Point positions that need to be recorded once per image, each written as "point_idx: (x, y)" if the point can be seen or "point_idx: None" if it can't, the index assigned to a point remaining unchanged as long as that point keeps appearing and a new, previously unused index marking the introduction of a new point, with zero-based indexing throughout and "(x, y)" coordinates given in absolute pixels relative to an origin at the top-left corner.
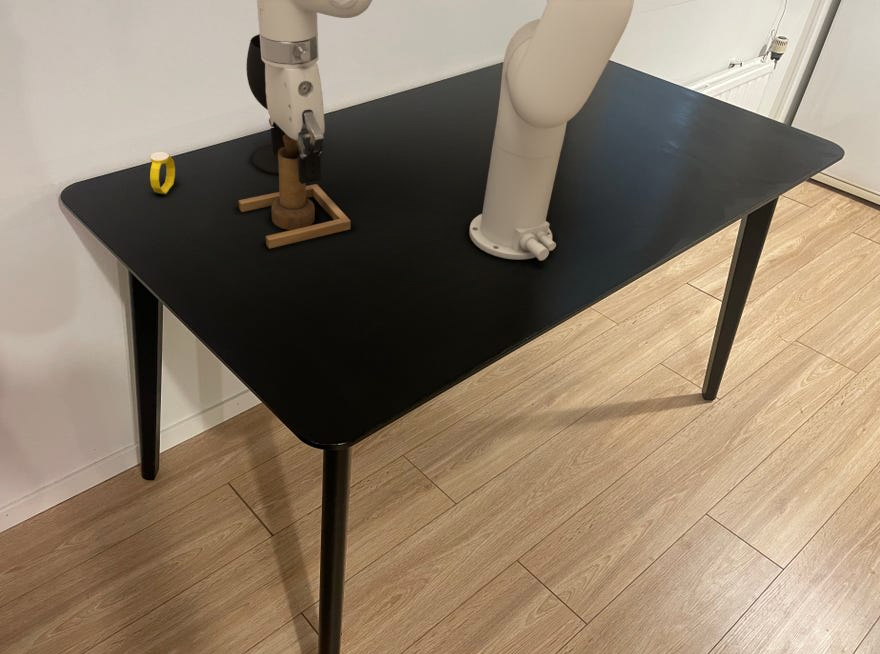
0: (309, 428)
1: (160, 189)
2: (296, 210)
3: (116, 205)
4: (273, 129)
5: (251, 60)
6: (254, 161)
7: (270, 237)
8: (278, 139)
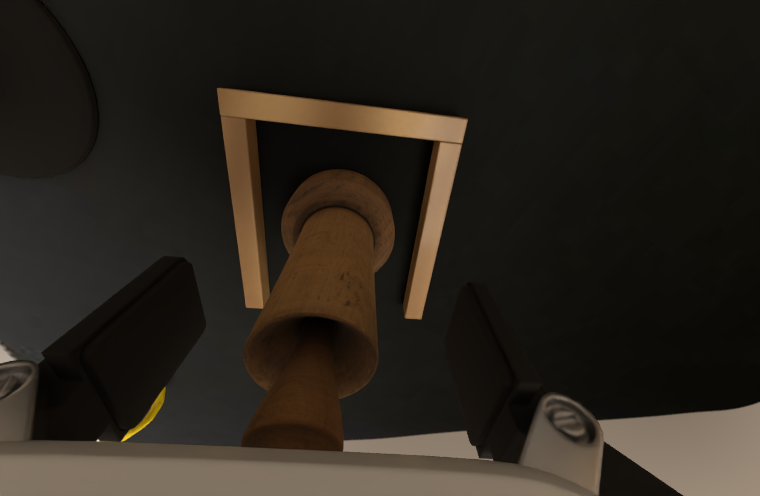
0: (741, 403)
1: (163, 396)
2: (379, 251)
3: (182, 424)
4: (118, 433)
5: None
6: (4, 173)
7: (415, 314)
8: (161, 363)
